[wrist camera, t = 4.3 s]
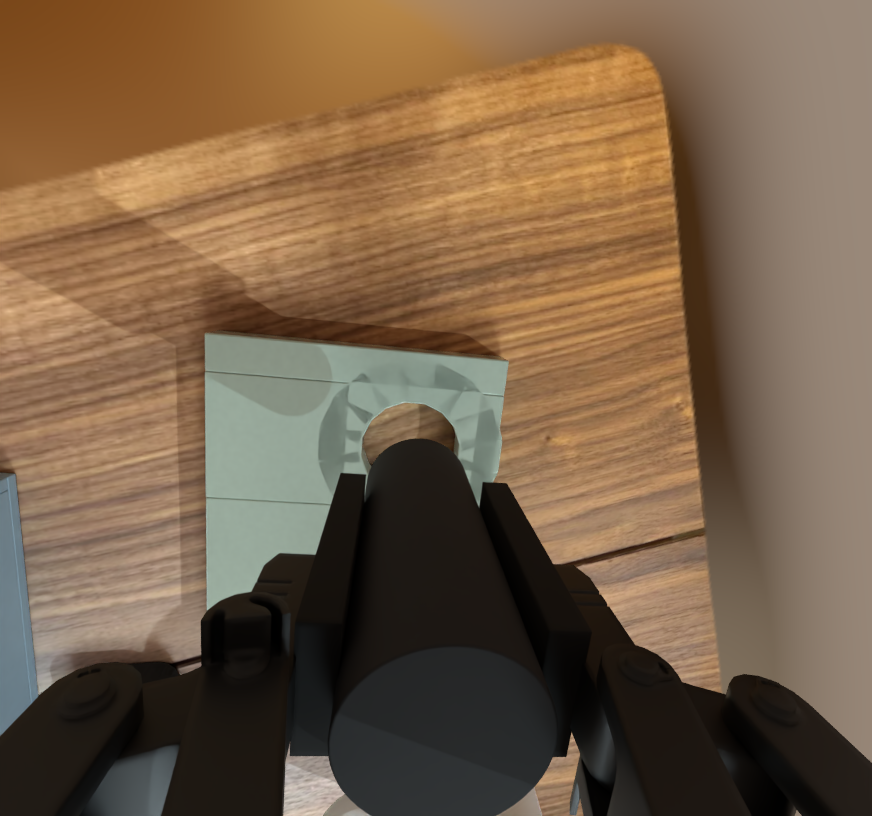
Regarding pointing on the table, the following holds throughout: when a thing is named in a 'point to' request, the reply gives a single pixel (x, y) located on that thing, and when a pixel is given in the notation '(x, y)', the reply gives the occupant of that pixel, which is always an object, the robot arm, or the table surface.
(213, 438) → the drain slab
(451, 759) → the plug
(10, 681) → the basin tray
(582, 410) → the table surface
